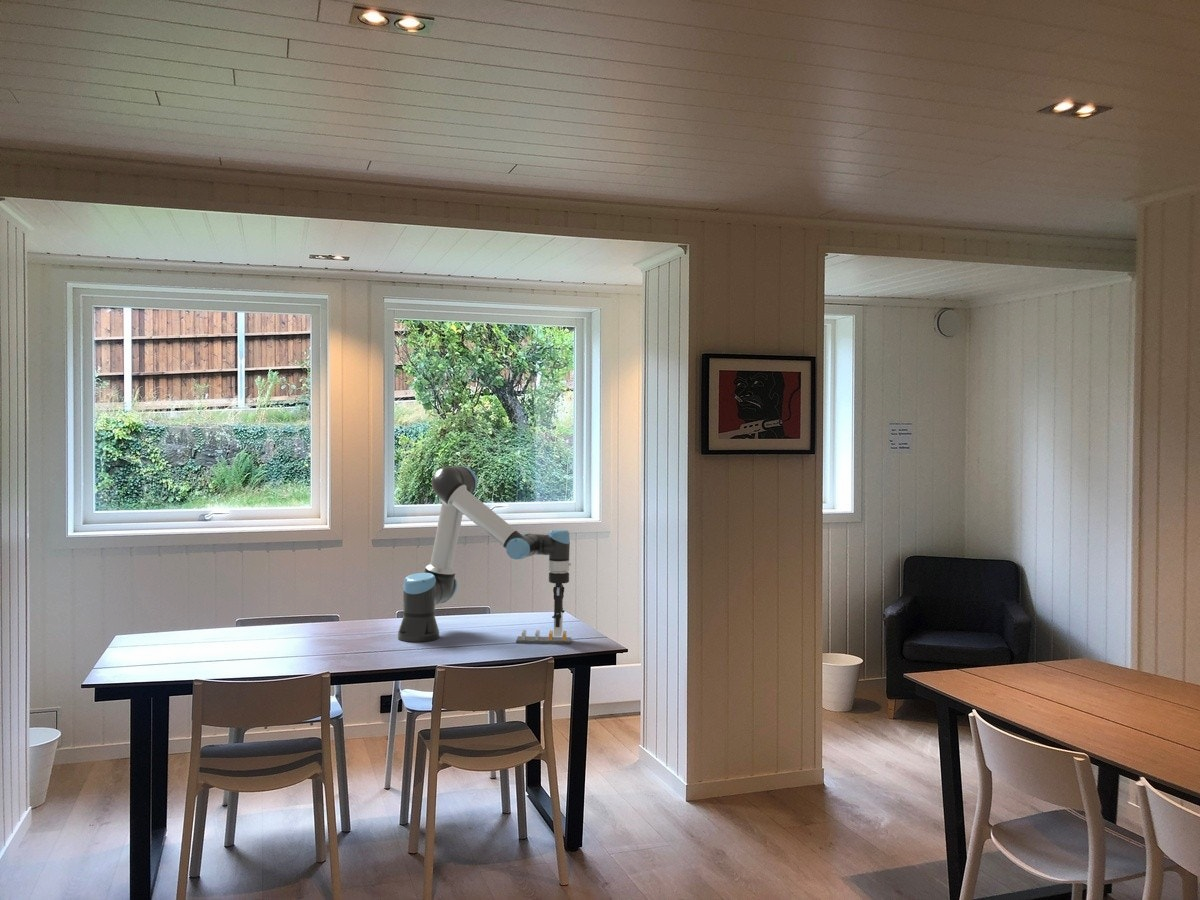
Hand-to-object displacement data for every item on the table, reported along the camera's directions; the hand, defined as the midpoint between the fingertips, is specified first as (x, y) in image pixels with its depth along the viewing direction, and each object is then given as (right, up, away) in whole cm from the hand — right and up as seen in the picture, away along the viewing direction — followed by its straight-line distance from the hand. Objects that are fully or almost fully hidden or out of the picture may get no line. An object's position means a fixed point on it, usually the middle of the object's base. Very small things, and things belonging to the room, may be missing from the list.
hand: (558, 633), depth 348 cm
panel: (0, 0, 0) cm, 0 cm away
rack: (-5, -3, 0) cm, 6 cm away
